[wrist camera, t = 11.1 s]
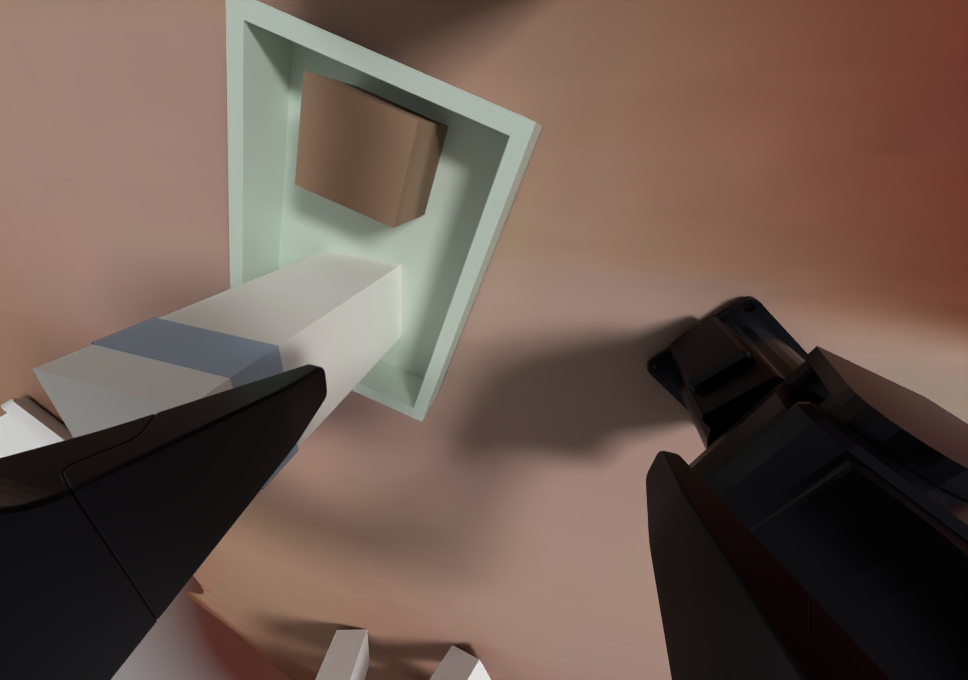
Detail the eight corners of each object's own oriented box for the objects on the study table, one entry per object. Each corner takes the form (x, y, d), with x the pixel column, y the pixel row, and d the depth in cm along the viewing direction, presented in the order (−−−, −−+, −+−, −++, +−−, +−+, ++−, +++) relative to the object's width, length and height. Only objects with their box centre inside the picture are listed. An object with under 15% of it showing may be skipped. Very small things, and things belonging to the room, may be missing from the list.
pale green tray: (542, 127, 17) (536, 122, 14) (439, 390, 26) (422, 421, 23) (285, 15, 17) (225, -14, 14) (270, 315, 26) (230, 336, 23)
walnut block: (448, 126, 18) (418, 120, 14) (424, 214, 20) (393, 228, 16) (356, 85, 18) (303, 70, 14) (342, 178, 20) (294, 184, 16)
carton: (402, 263, 22) (184, 408, 9) (401, 337, 24) (229, 526, 12) (324, 249, 22) (29, 367, 10) (332, 322, 25) (102, 486, 13)
